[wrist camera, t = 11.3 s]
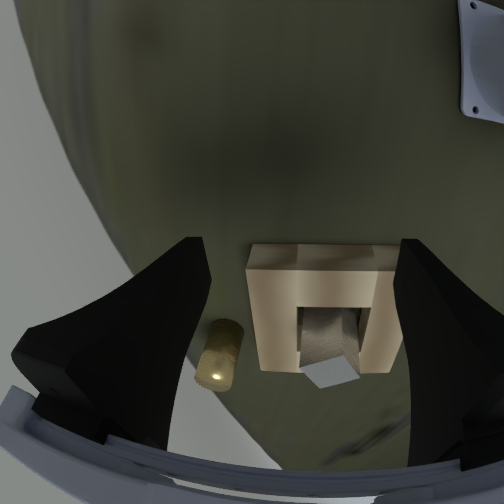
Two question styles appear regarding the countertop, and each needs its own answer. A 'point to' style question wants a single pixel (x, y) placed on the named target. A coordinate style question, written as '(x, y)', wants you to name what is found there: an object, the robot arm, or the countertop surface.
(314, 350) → the square bit
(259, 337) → the socket block
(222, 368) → the cylinder
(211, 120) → the countertop surface
